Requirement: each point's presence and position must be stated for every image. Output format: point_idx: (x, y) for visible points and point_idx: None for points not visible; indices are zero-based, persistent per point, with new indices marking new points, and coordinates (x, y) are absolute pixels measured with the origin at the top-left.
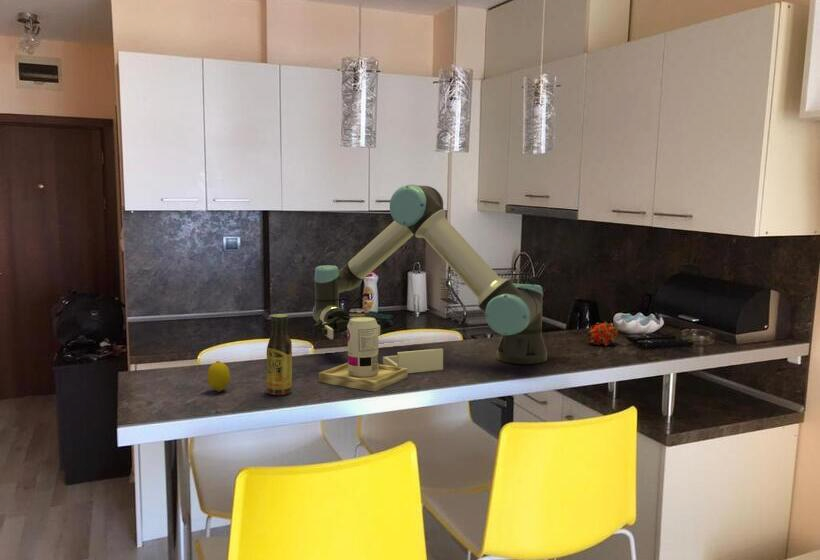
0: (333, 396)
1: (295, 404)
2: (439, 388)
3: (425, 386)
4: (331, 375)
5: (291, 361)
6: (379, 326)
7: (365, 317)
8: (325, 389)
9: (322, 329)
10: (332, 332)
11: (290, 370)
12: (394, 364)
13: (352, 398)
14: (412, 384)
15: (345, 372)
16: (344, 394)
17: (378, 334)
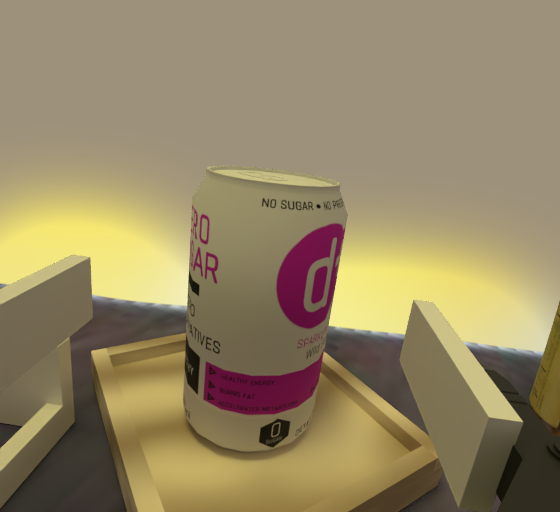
0: (388, 355)
1: (483, 354)
2: (126, 301)
3: (138, 318)
4: (390, 406)
5: (554, 322)
6: (77, 259)
7: (229, 178)
8: (408, 403)
9: (515, 390)
10: (413, 321)
11: (546, 345)
12: (35, 434)
13: (344, 332)
14: (149, 336)
15: (309, 463)
16: (357, 354)
17: (88, 310)
